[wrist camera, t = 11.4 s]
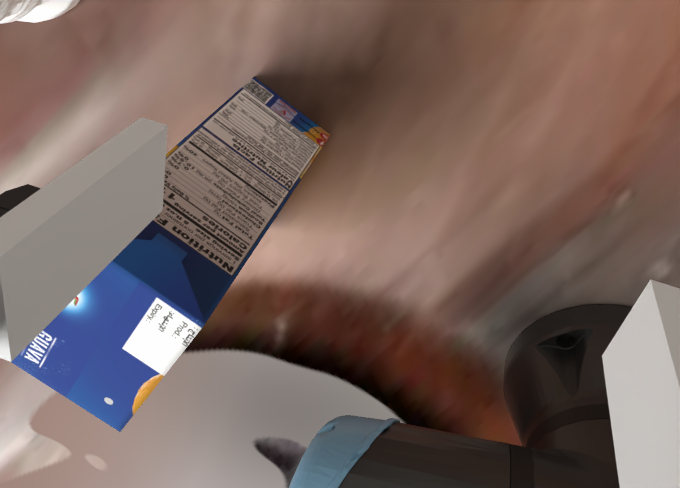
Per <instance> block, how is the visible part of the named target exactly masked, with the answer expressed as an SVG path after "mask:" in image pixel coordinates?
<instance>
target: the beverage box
mask: <svg viewBox="0 0 680 488" xmlns="http://www.w3.org/2000/svg"><path fill="white" fill-rule="evenodd" d="M329 136H330V134H329V133H327V132H326V131H325V130H323V129H322V128H321V127H319V126H318V125H317V124H316V123H314V122H313V121H312V120H310V119H309V118H308V117H306V116H305V115H304V114H302V113H301V112H300V111H298V110H297V109H296V108H294V107H293V106H292V105H291V104H289V103H288V102H287V101H285V100H284V99H283V98H281V97H280V96H279V95H277V94H276V93H275V92H273V91H272V90H271V89H269V88H268V87H267V86H266V85H264V84H263V83H262V82H260V81H259V80H258V79H256V78H255V77H253V78H252V79H251V80H250V81H249V82H247V83H246V84H245V85H244V86H243V87H242V88H241V89H240V90H238V91H237V92H236V93H235V94H234V95H233V96H232V97H231V98H229V99H228V100H227V101H226V102H225V103H224V104H223V105H222V106H220V107H219V108H218V109H217V110H216V111H215V112H214V113H212V114H211V115H210V116H209V117H208V118H207V119H206V120H205V121H203V122H202V123H201V124H200V125H199V126H198V127H197V128H196V129H194V130H193V131H192V132H191V133H190V134H189V135H188V136H187V137H185V138H184V139H183V140H182V141H181V142H180V143H179V144H178V145H176V146H175V147H174V148H173V149H172V150H171V151H170V152H168V153H167V154H166V162H165V179H164V196H163V210H162V211H161V212H160V213H159V214H158V215H157V216H156V217H155V218H154V219H153V220H152V221H151V222H150V223H149V224H148V225H147V226H146V227H145V228H144V229H143V230H142V231H141V232H140V233H139V234H138V235H137V236H136V237H135V238H134V239H133V240H132V241H131V242H130V243H129V244H128V245H127V246H126V247H125V248H124V249H123V250H122V251H121V252H120V253H119V254H118V255H117V256H116V257H115V258H114V259H113V260H112V261H111V262H110V263H109V264H108V265H107V266H106V267H105V268H104V269H103V270H102V271H101V272H100V273H99V274H98V275H97V276H96V277H95V278H94V279H93V280H92V281H91V282H90V283H89V284H88V285H87V286H86V287H85V288H84V289H83V290H82V291H81V292H80V293H79V294H78V295H77V296H76V298H75V299H74V300H73V301H72V302H71V303H70V304H69V305H68V306H67V307H66V308H65V309H64V310H63V311H62V312H61V313H60V314H59V315H58V316H57V317H56V318H55V319H54V320H53V321H52V322H51V323H50V324H49V325H48V326H47V327H46V328H45V329H44V330H43V331H42V332H41V333H40V334H39V335H38V336H37V337H36V338H35V339H34V340H33V341H32V342H31V343H30V344H29V345H28V346H27V347H26V348H25V349H24V350H23V351H22V352H21V353H20V354H19V355H18V356H17V357H16V358H15V359H14V360H13V361H12V363H13V364H15V365H17V366H18V367H20V368H21V369H23V370H24V371H26V372H27V373H29V374H31V375H32V376H34V377H35V378H37V379H38V380H40V381H41V382H43V383H45V384H46V385H48V386H49V387H51V388H52V389H54V390H55V391H57V392H59V393H60V394H62V395H63V396H65V397H67V398H68V399H69V400H71V401H73V402H74V403H76V404H77V405H79V406H80V407H82V408H84V409H85V410H87V411H88V412H90V413H91V414H93V415H95V416H96V417H97V418H99V419H101V420H102V421H104V422H105V423H107V424H108V425H110V426H111V427H113V428H115V429H116V430H118V431H119V432H120V431H121V430H122V429H123V428H124V426H125V425H126V424H127V422H128V421H129V420H130V418H131V417H132V416H133V415H134V414H135V412H136V411H137V410H138V408H139V407H140V406H141V405H142V403H143V402H144V401H145V400H146V398H147V397H148V396H149V395H150V393H151V392H152V391H153V389H154V388H155V387H156V386H157V384H158V383H159V382H160V380H161V379H162V378H163V377H164V375H165V374H166V373H167V372H168V370H169V369H170V368H171V366H172V365H173V364H174V363H175V362H176V360H177V359H178V358H179V356H180V355H181V354H182V353H183V351H184V350H185V349H186V348H187V346H188V345H189V344H190V342H191V341H192V340H193V339H194V337H195V336H196V335H197V334H198V332H199V331H200V330H201V328H202V327H203V326H204V325H205V323H206V322H207V320H208V319H209V317H210V316H211V314H212V313H213V311H214V310H215V308H216V307H217V305H218V304H219V302H220V301H221V299H222V297H223V296H224V294H225V293H226V291H227V290H228V288H229V287H230V285H231V284H232V282H233V281H234V279H235V278H236V276H237V275H238V273H239V272H240V270H241V269H242V267H243V266H244V264H245V263H246V261H247V260H248V258H249V257H250V255H251V254H252V252H253V251H254V249H255V248H256V246H257V245H258V243H259V242H260V240H261V239H262V237H263V236H264V234H265V233H266V231H267V230H268V228H269V227H270V225H271V224H272V222H273V221H274V219H275V218H276V216H277V215H278V213H279V212H280V210H281V209H282V207H283V206H284V204H285V203H286V201H287V200H288V198H289V197H290V195H291V194H292V192H293V191H294V189H295V188H296V186H297V185H298V183H299V182H300V180H301V179H302V177H303V176H304V174H305V173H306V171H307V170H308V168H309V167H310V165H311V164H312V162H313V161H314V159H315V157H316V156H317V154H318V153H319V151H320V150H321V148H322V147H323V145H324V144H325V142H326V141H327V139H328V138H329Z"/></svg>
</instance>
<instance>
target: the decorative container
mask: <svg viewBox="0 0 680 488" xmlns="http://www.w3.org/2000/svg"><path fill="white" fill-rule="evenodd" d="M79 1H80V0H0V23H9V22H13V21H15V20H17V21H24V22H34V23H36V22H41V21H45V20H49V19H53V18H56V17H58V16H61V15H63V14H64V13H66V12H67V11H69V10H70V9H72V8H73V7H75V6H76V5H77V4H78V2H79Z"/></svg>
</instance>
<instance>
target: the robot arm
mask: <svg viewBox="0 0 680 488" xmlns="http://www.w3.org/2000/svg"><path fill="white" fill-rule="evenodd" d="M167 128H168V125H164V124H161V123H158V122H155V121H152V120H149V119H146V118H143V117H141V118H140V119H138V120H137V121H135V122H134V123H133V124H131V125H130V126H128V127H127V128H126V129H124V130H123V131H121V132H120V133H119V134H117V135H116V136H114V137H113V138H112V139H110V140H109V141H107V142H106V143H104V144H103V145H102V146H100V147H99V148H97V149H96V150H95V151H93V152H92V153H90V154H89V155H88V156H86V157H85V158H83V159H82V160H81V161H79V162H78V163H76V164H75V165H73V166H72V167H71V168H69V169H68V170H66V171H65V172H64V173H62V174H61V175H59V176H58V177H57V178H55V179H54V180H52V181H51V182H50V183H48V184H47V185H45V186H44V187H42V188H38V187H35V186H32V185H29V184H27V185H24V186H21V187H18V188H15V189H12V190H8V191H5V192H4V193H2V194H1V195H0V358H2V359H5V360H8V361H10V362H12V361H13V360H14V359H15V358H16V357H17V356H18V355H19V354H20V353H21V352H22V351H23V350H24V349H25V348H26V347H27V346H28V345H29V344H30V343H31V342H32V341H33V340H34V339H35V338H36V337H37V336H38V335H39V334H40V333H41V332H42V331H43V330H44V329H45V328H46V327H47V326H48V325H49V324H50V323H51V322H52V321H53V320H54V319H55V318H56V317H57V316H58V315H59V314H60V313H61V312H62V311H63V310H64V309H65V308H66V307H67V306H68V305H69V304H70V303H71V302H72V301H73V300H74V299H75V298H76V296H77V295H78V294H79V293H80V292H81V291H82V290H83V289H84V288H85V287H86V286H87V285H88V284H89V283H90V282H91V281H92V280H93V279H94V278H95V277H96V276H97V275H98V274H99V273H100V272H101V271H102V270H103V269H104V268H105V267H106V266H107V265H108V264H109V263H110V262H111V261H112V260H113V259H114V258H115V257H116V256H117V255H118V254H119V253H120V252H121V251H122V250H123V249H124V248H125V247H126V246H127V245H128V244H129V243H130V242H131V241H132V240H133V239H134V238H135V237H136V236H137V235H138V234H139V233H140V232H141V231H142V230H143V229H144V228H145V227H146V226H147V225H148V224H149V223H150V222H151V221H152V220H153V219H154V218H155V217H156V216H157V215H158V214H159V213H160V212H161V211H162V210H163V196H164V179H165V162H166V145H167ZM504 396H505V401H506V405H507V408H508V410H509V413H510V415H511V418H512V420H513V423H514V426H515V428H516V431H517V433H518V436H519V438H520V441H521V443H522V446H517V445H512V444H508V443H503V442H497V441H492V440H486V439H480V438H475V437H470V436H465V435H460V434H455V433H450V432H445V431H439V430H434V429H429V428H424V427H419V426H414V425H409V424H404V423H400V421H399V420H398V419H394V418H390V419H387V420H380V419H373V418H365V417H358V416H350V415H346V416H340V417H337V418H335V419H333V420H331V421H329V422H328V423H327V424H325V425H324V426H323V427H322V428H321V429H320V431H319V432H318V433H317V435H316V436H315V438H314V439H313V440H312V441H311V443H310V445H309V447H308V448H307V450H306V452H305V453H304V455H303V457H302V459H301V461H300V463H299V465H298V468H297V470H296V472H295V474H294V477H293V479H292V481H291V484H290V486H289V488H680V289H679V288H676V287H673V286H670V285H667V284H664V283H660V282H657V281H654V280H651V279H650V281H649V283H648V284H647V286H646V287H645V289H644V290H643V292H642V294H641V295H640V297H639V298H638V300H637V301H636V303H635V305H634V306H633V308H629V307H623V306H615V305H587V306H579V307H574V308H569V309H565V310H562V311H559V312H556V313H553V314H551V315H548V316H546V317H544V318H542V319H540V320H538V321H537V322H535V323H534V324H532V325H531V326H529V327H528V328H527V329H526V330H525V331H524V332H522V333H521V334H520V336H519V337H518V338H517V339H516V340H515V342H514V343H513V345H512V346H511V348H510V350H509V352H508V355H507V358H506V361H505V368H504Z"/></svg>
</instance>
